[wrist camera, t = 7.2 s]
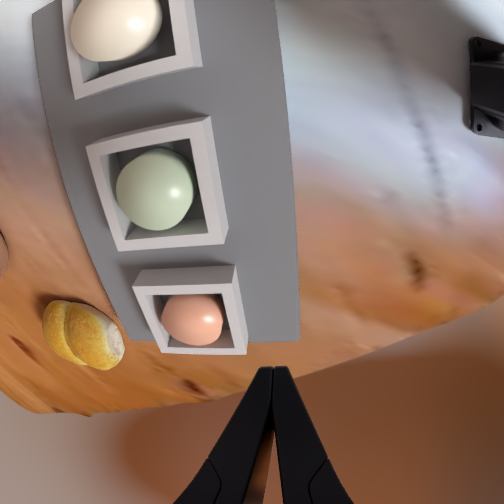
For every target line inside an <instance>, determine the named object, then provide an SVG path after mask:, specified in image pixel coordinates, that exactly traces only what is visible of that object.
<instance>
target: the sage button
mask: <svg viewBox="0 0 504 504" xmlns="http://www.w3.org/2000/svg"><path fill="white" fill-rule="evenodd" d="M196 192H197V178H196V174H195V172H194V169H193V168H192V166H191V164H190V163H189V162H188V161H187V160H186V159H185V158H184V157H183V156H182V155H180V154H179V153H177V152H175V151H173V150H170V149H165V148H155V149H151V150H148V151H146V152H144V153H142V154H141V155H139V156H138V157H137V158H135V159H134V160H133V161H131V162H130V163H128V164H127V165H126V166H125V167H124V168H123V169H122V171H121V173H120V174H119V177H118V180H117V184H116V195H117V200H118V203H119V205H120V207H121V209H122V211H123V212H124V214H125V215H126V216H127V217H128V218H129V219H130V220H131V221H132V222H134V223H135V224H137V225H138V226H140V227H142V228H145V229H149V230H165V229H169V228H171V227H173V226H175V225H176V224H178V223H179V222H180V221H181V220H182V219H183V217H184V216H185V214H186V212H187V211H188V209H189V207H190V206H191V204H192V202H193V200H194V198H195V196H196Z"/></svg>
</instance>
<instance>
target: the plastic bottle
mask: <svg viewBox="0 0 504 504" xmlns="http://www.w3.org/2000/svg"><path fill="white" fill-rule="evenodd" d="M8 259H9V255H8V249H7V246H6V244H5V241H4V239H3V237H2V235H1V234H0V279H1V278H2V276H3V274H4V273H5V271H6V269H7V265H8Z"/></svg>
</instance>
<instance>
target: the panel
mask: <svg viewBox="0 0 504 504" xmlns="http://www.w3.org/2000/svg"><path fill="white" fill-rule="evenodd" d="M81 1H82V0H55V1H53V2H52V3H50V4H48V5H46V6H45V7H43V8H41V9H40V10H38V11H37V12H35V13H33V14H32V25H33V37H34V47H35V55H36V63H37V70H38V76H39V83H40V88H41V94H42V99H43V104H44V109H45V114H46V118H47V123H48V127H49V131H50V136H51V140H52V144H53V147H54V151H55V155H56V158H57V162H58V165H59V169H60V172H61V176H62V179H63V182H64V185H65V188H66V192H67V195H68V198H69V201H70V204H71V207H72V209H73V212H74V215H75V218H76V221H77V223H78V226H79V229H80V231H81V234H82V237H83V239H84V242H85V244H86V247H87V249H88V252H89V254H90V257H91V259H92V261H93V264H94V266H95V268H96V271H97V273H98V275H99V277H100V280H101V282H102V284H103V286H104V288H105V291H106V293H107V295H108V297H109V299H110V301H111V303H112V305H113V307H114V309H115V312H116V314H117V316H118V318H119V320H120V321H121V323H122V325H123V327H124V329H125V331H126V333H127V335H128V337H129V339H130V340H135V341H154V342H157V344H158V346H159V348H160V350H161V352H162V353H178V354H219V355H241V354H246V353H247V344H248V343H258V342H286V341H300V307H299V277H298V253H297V233H296V215H295V199H294V184H293V171H292V158H291V146H290V134H289V123H288V112H287V102H286V93H285V83H284V74H283V65H282V57H281V49H280V41H279V33H278V26H277V18H276V11H275V4H274V0H159V2H160V4H161V7H162V11H163V19H162V25H161V28H160V31H159V33H158V35H157V37H156V38H155V40H154V41H153V42H152V44H151V45H150V46H149V47H148V48H147V49H146V50H145V51H143V52H142V53H140V54H139V55H137V56H135V57H133V58H131V59H127V60H123V61H91V60H88V59H86V58H84V57H83V56H81V55H80V54H79V53H78V52H77V50H76V49H75V47H74V45H73V43H72V40H71V23H72V19H73V15H74V13H75V11H76V9H77V7H78V5H79V4H80V3H81ZM155 148H165V149H170V150H173V151H175V152H177V153H179V154H180V155H182V156H183V157H184V158H185V159H186V160H187V161H188V162H189V163H190V164H191V166H192V168H193V169H194V172H195V174H196V178H197V192H196V196H195V198H194V200H193V202H192V204H191V206H190V207H189V209H188V211H187V212H186V214H185V216H184V217H183V219H182V220H181V221H180V222H179V223H178V224H176V225H175V226H173V227H171V228H169V229H165V230H149V229H145V228H142V227H140V226H138V225H137V224H135V223H134V222H132V221H131V220H130V219H129V218H128V217H127V216H126V215H125V214H124V212H123V211H122V209H121V207H120V205H119V203H118V200H117V195H116V184H117V180H118V177H119V174H120V173H121V171H122V169H123V168H124V167H125V166H126V165H127V164H128V163H130V162H131V161H133V160H134V159H135V158H137V157H138V156H139V155H141V154H142V153H144V152H146V151H148V150H151V149H155ZM177 294H216V295H217V296H218V297H219V298H220V299H221V301H222V303H223V305H224V308H225V314H224V319H223V324H222V329H221V334H220V336H219V337H218V339H217V340H215V341H214V342H212V343H210V344H207V345H199V346H197V345H189V344H186V343H183V342H180V341H178V340H176V339H175V338H173V337H172V336H171V335H170V334H168V332H167V331H166V330H165V329H164V327H163V325H162V321H161V316H162V313H163V310H164V308H165V305H166V303H167V301H168V298H169V296H170V295H177Z"/></svg>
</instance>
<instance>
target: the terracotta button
mask: <svg viewBox="0 0 504 504" xmlns="http://www.w3.org/2000/svg"><path fill="white" fill-rule="evenodd" d="M224 314H225V308H224V305H223V303H222V301H221V299H220V298H219V297H218V296H217V295H216V294H177V295H170V296H169V298H168V301H167V303H166V305H165V308H164V310H163V313H162V316H161V321H162V325H163V327H164V329H165V330H166V331H167V332H168V334H170V335H171V336H172V337H173V338H175V339H176V340H178V341H180V342H183V343H186V344H189V345H197V346H199V345H207V344H210V343H212V342H214V341H215V340H217V339H218V337H219V336H220V334H221V329H222V324H223V319H224Z"/></svg>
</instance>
